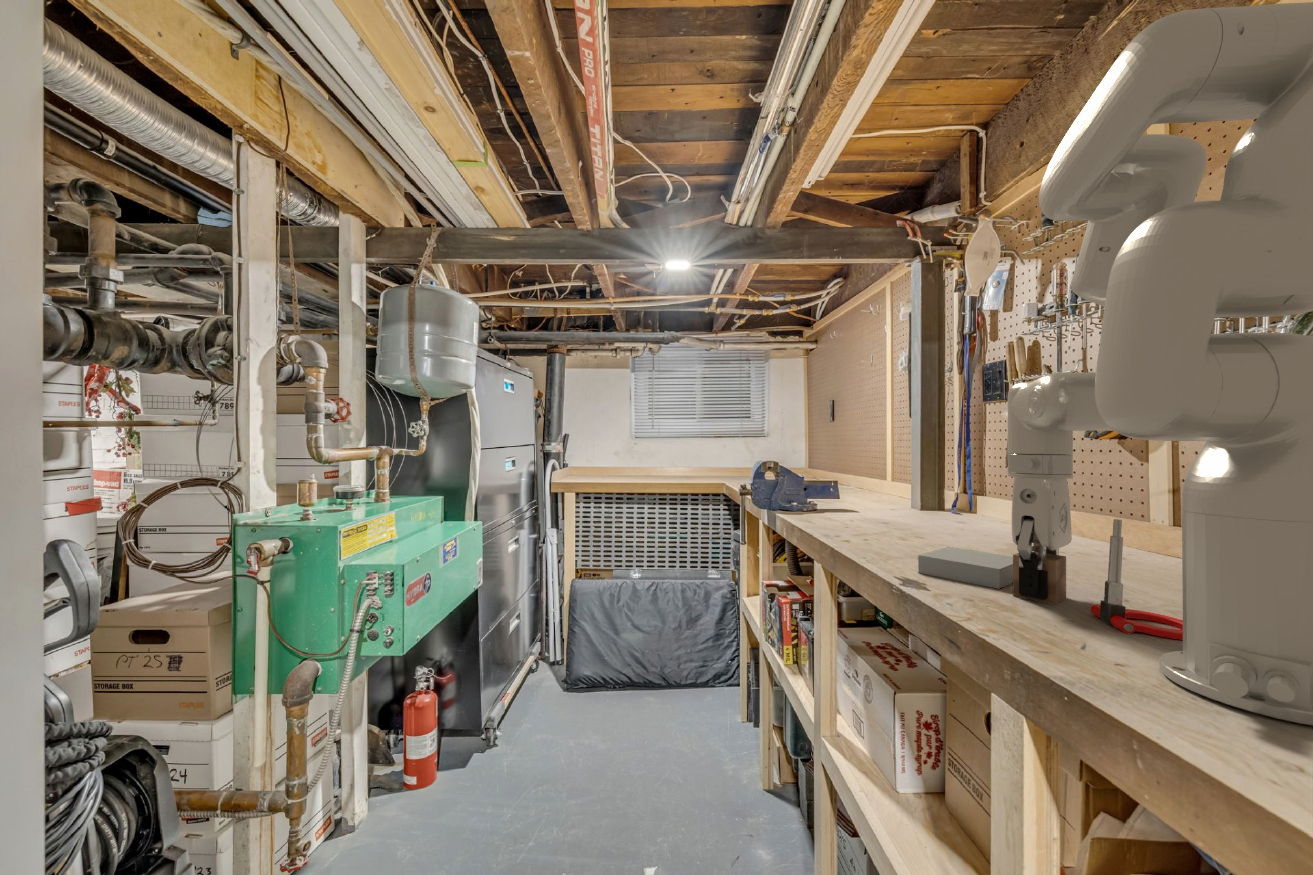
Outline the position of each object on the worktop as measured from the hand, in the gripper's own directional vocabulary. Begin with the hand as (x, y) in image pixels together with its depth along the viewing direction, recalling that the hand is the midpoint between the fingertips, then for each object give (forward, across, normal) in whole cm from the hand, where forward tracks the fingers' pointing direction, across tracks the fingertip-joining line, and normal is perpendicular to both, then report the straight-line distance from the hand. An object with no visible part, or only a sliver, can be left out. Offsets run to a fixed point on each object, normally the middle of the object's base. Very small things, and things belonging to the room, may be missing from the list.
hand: (1039, 592), depth 73 cm
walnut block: (+1, 0, 0) cm, 1 cm away
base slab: (+1, +6, +11) cm, 13 cm away
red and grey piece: (+1, -4, -12) cm, 13 cm away
